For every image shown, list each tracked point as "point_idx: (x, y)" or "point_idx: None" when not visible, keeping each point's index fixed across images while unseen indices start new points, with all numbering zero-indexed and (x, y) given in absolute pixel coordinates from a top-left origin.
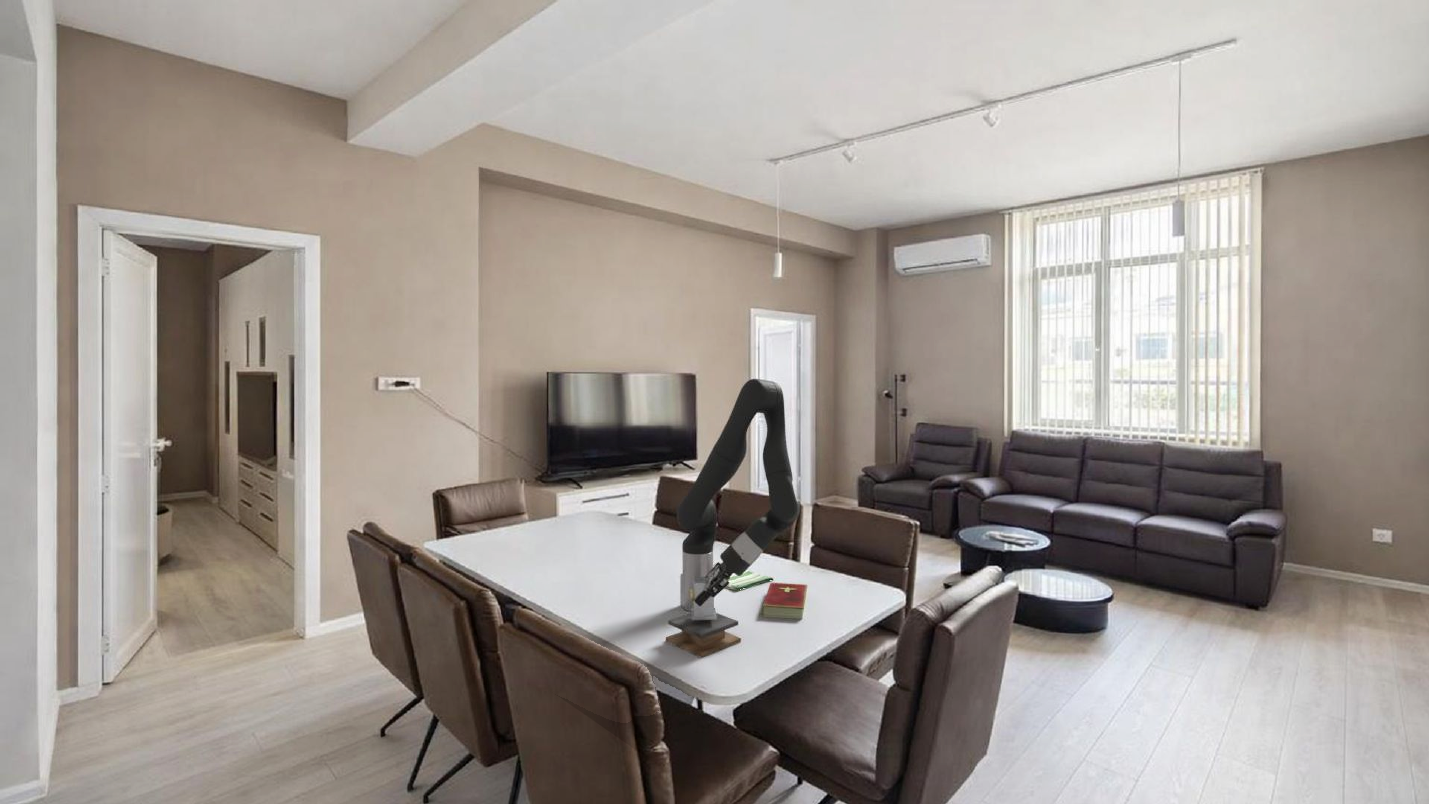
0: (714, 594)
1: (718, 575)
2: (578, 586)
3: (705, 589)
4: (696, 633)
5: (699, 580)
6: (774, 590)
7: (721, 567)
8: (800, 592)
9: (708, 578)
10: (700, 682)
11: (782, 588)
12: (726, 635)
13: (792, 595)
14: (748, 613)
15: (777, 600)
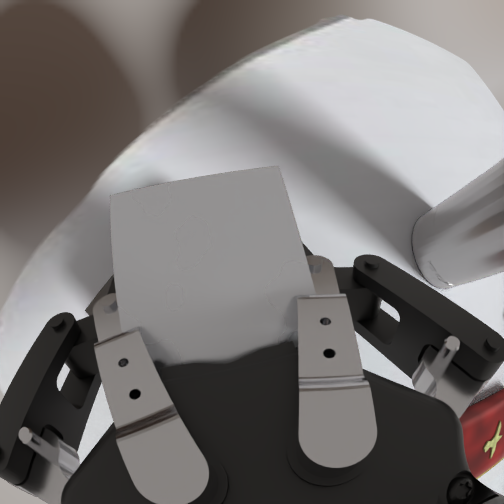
0: (68, 373)
1: (115, 450)
2: (414, 62)
3: (103, 303)
4: (101, 290)
5: (188, 225)
6: (495, 418)
7: (313, 496)
8: (480, 469)
9: (267, 307)
10: (8, 319)
11: (498, 430)
12: None
13: (470, 465)
14: None
15: None
